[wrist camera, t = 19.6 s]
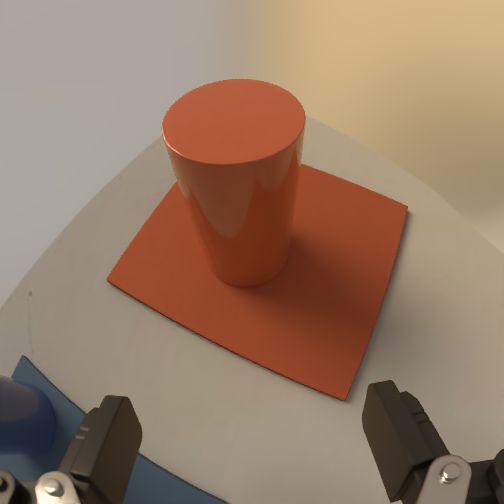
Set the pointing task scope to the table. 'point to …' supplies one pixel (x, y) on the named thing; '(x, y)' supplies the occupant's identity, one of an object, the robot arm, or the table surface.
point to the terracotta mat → (279, 282)
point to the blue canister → (24, 418)
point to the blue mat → (67, 423)
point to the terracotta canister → (238, 173)
